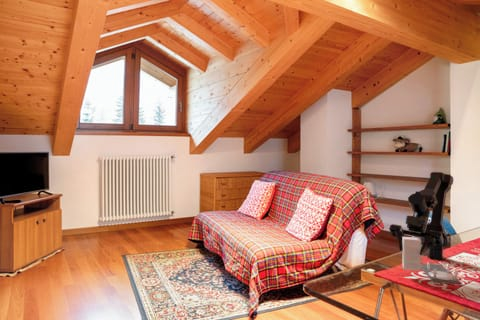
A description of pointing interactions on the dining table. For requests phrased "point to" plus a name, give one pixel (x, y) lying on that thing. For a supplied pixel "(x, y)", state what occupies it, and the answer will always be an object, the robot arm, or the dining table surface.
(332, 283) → the dining table surface
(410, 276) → the dining table surface
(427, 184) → the robot arm
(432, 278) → the tray
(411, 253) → the skincare box
